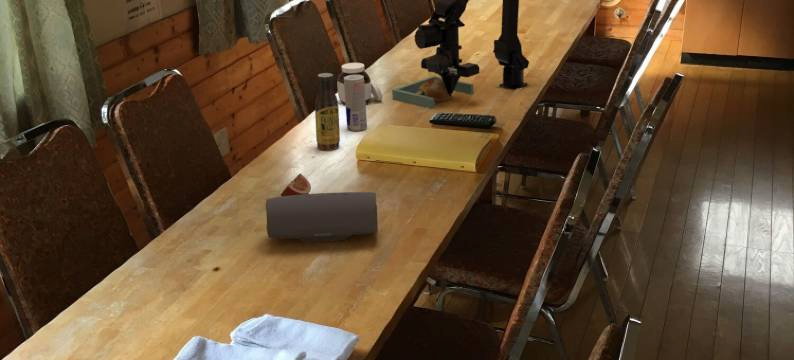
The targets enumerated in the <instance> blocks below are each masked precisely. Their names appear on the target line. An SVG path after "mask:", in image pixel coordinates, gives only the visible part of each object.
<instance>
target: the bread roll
mask: <svg viewBox="0 0 794 360" xmlns="http://www.w3.org/2000/svg"><path fill="white" fill-rule="evenodd" d="M417 94H419V95H423V96H427V97H431V98H434V103H440V102H441V103H442V102H445V101H448V100H451V99H452V94H448V92H447V89H446V87H445V84H444V81H443V79H441V78H431V79H429V80H427V81H425V82H424V83H423V84H422V85H421V86H420V87H419V88H418V92H417Z"/></svg>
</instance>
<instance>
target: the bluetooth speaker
mask: <svg viewBox="0 0 794 360" xmlns="http://www.w3.org/2000/svg"><path fill="white" fill-rule="evenodd" d="M265 212H266V214H265V215H266V234H267V237H268V238H270V239H271V238H272V239H299V241H300V242H303V243H317V242H318V243H319V242H321V243H322V242H334V241H335V242H337V241H344V240H345V241H346V240H349V237H350V236H356V235H357V236H358V235H364V234H372V233H377V232H379V228H378V226H379V223H378V221H379V220H378V205H377V193H376V192H372V191H371V192H368V191H357V192H356V191H353V192H352V191H351V192H349V191H346V192H344V191H343V192H341V191H340V192H320V193H319V192H318V193H308V194H303V195H292V196H276V197H269V198H266V201H265Z"/></svg>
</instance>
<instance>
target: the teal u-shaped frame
mask: <svg viewBox="0 0 794 360" xmlns="http://www.w3.org/2000/svg"><path fill="white" fill-rule="evenodd" d="M431 78H441V79H442V77H441V76H438V75H432V76H429V77H426V78H425V77H424V78H423V79H419V80H416V81H413V82H410V83H407V84H405V85H402V86H399V87H397V88H393V89H392V90H391V92H392V93H391V94H392V95H391V96H392V100H394V101H397V102H403V103H406V102H407V104H410V103H412V104H411V105H414V104H416V105H415V106H418V105H419V106H418V107H422V106H423V108H426V107H428V108H427V109H430V108H431V110H432V108H433V109H435V102H434V98H431V97H427V96H423V95H419V94H418V88H419V87H420V86H421V85H422V84H423V83H424V82H425V81H427V80H429V79H431ZM415 92H416V93H415ZM453 92H459V93H463V94H467V95H473V94H474V84H473V83H469V82H465V81H461V80H458V82H457V85H456V87H455V89H454V91H453Z"/></svg>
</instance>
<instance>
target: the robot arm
mask: <svg viewBox="0 0 794 360" xmlns="http://www.w3.org/2000/svg"><path fill="white" fill-rule="evenodd" d="M469 1H470V0H438V2H437V3H435V5H434V7H435V9H434V10H433V13H431V16H430V18H429V20H428V21H427V24H418V25H417V29H416V31H415V34H414V36H413V37H414V42H415V45H416V47H417V48H418V49H420V50H423V49H428V48H432V47H436V49H435V54H433V55H431V56H427V57H423V58H422V60H421V62H420V68H421V69H424V70H427V71H428V72H429V73H434V74H436V75H437V76H438V75H439V77H442V79H443V81H444V84H445V87H446V89H447V92H448V94H451V95H453V94H454V92H455V91H454V89H455V87H456V85H457V82H458V81H460V78H461V77H463V78H470V77H473V76H476V75H478V74H479V75H480V66H479V65H478V64H477V63H472V62H466V63H464V64H461V63H463V58H460V51H461V50H463V47H462V45H460V40H459V38H460V37H459V35H460V34H459V28H463V27H465V26H466V23H464V22H463V21H461V17H462V16H463V14H464V13H465V11H466V8H467V4H468V3H469ZM519 6H520V0H502V7H501V8H502V11H501V31H500V33H501V34H500V36H499V37H498V39H494V40H493V51H492V53H494V57H495V59H496V60H497V62H498V65H499V66H502V67H503V68H502V69H503V70H502V71H503V72H502V83H500V84H499V85H498V86H499V87H503V88H507V89H512V90H518V89H520V88H522V87H526V86H528V83H527V82H525V81H524V79H525V78H524V75H525V73H524V70H525V69H528V68H529V65H530V61H529V60H528V58H526V57H525V55H523V49H522V43H521V40H520V38H519V36H518V27H519ZM428 72H427V73H428Z"/></svg>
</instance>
